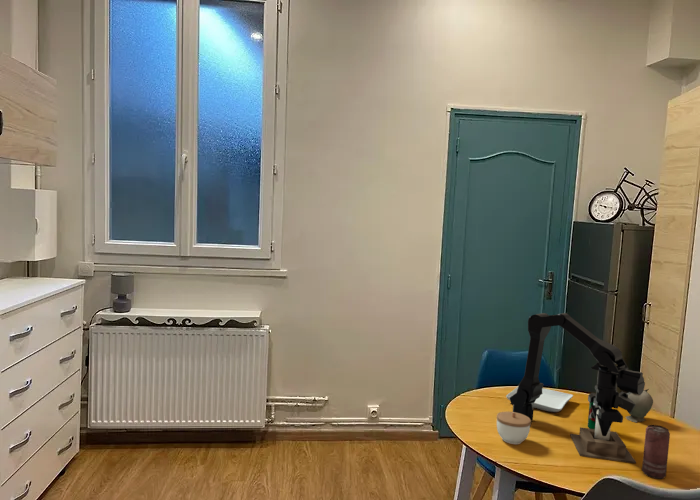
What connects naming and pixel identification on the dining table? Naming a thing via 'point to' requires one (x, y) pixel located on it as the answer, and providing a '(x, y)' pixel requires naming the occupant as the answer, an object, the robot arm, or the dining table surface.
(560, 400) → the salad plate
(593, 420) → the soda can
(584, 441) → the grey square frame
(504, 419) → the lidded jar
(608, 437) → the cream peg
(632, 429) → the dining table surface
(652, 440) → the can
